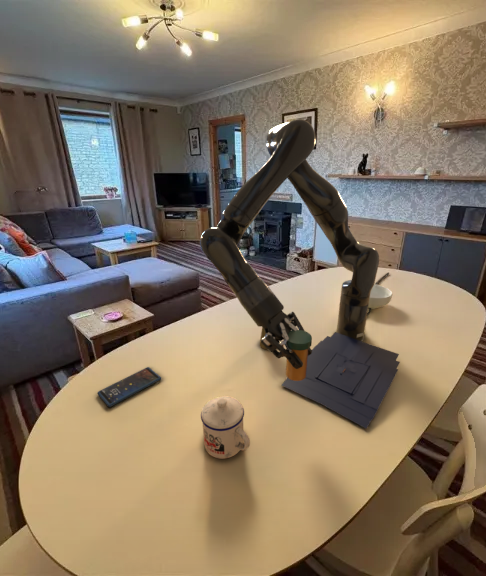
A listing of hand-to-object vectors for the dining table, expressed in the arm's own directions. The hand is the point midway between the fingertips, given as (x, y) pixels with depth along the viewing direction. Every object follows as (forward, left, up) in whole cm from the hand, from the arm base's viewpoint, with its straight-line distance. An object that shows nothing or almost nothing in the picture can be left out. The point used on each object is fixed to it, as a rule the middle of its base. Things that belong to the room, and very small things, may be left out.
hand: (304, 360), depth 70 cm
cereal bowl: (-70, -11, -16) cm, 73 cm away
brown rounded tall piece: (-19, -25, -16) cm, 35 cm away
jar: (0, -2, -5) cm, 5 cm away
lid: (0, -2, +5) cm, 6 cm away
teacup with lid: (+18, -7, -16) cm, 25 cm away
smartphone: (+22, -41, -15) cm, 49 cm away
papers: (-19, +2, -16) cm, 25 cm away
